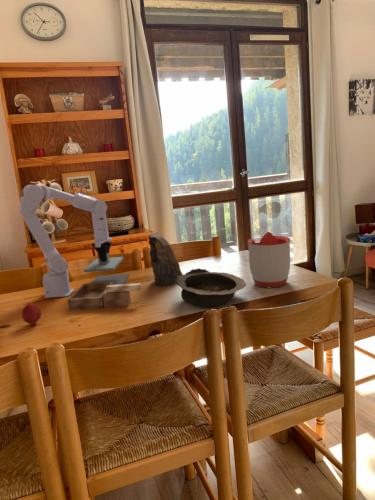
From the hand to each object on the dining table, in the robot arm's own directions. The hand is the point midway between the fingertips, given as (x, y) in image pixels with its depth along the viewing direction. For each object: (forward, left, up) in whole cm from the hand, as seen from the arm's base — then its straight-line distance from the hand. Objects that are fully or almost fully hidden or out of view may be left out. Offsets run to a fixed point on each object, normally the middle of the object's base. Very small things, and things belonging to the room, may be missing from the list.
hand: (104, 260), depth 165 cm
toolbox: (+4, -21, -10) cm, 24 cm away
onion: (-14, -41, -10) cm, 45 cm away
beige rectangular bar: (+13, -27, -5) cm, 31 cm away
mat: (0, +1, -10) cm, 10 cm away
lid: (0, 0, -2) cm, 2 cm away
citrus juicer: (+66, -12, -10) cm, 68 cm away
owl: (+26, -3, -10) cm, 28 cm away
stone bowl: (+44, -27, -10) cm, 53 cm away
